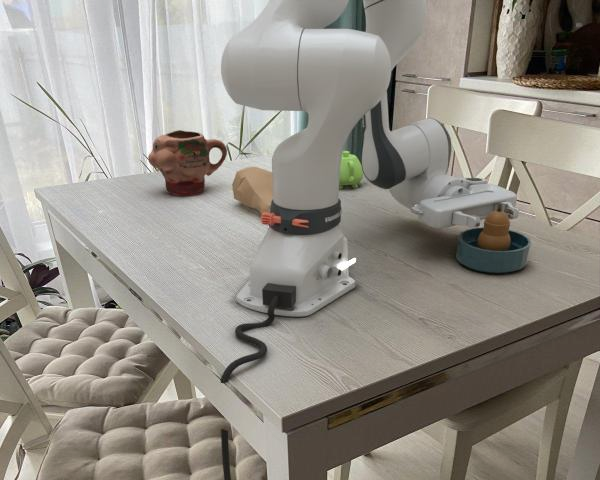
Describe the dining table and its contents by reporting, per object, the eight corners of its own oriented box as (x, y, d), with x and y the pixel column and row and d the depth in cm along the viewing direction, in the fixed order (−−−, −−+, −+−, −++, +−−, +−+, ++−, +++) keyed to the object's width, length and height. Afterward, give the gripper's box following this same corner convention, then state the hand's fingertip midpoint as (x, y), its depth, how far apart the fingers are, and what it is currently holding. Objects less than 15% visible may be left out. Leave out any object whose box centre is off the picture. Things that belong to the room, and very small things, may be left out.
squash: (265, 197, 154) (271, 161, 149) (296, 231, 140) (303, 192, 135) (224, 195, 149) (229, 157, 144) (252, 230, 136) (258, 190, 130)
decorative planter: (220, 180, 167) (216, 125, 159) (236, 191, 158) (232, 133, 150) (148, 189, 160) (140, 132, 152) (160, 202, 151) (152, 142, 143)
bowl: (519, 280, 109) (524, 256, 107) (448, 268, 114) (451, 245, 111) (531, 255, 119) (536, 233, 116) (465, 245, 124) (468, 223, 121)
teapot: (354, 193, 155) (355, 158, 150) (315, 187, 159) (315, 153, 155) (372, 182, 162) (374, 149, 158) (334, 177, 167) (335, 144, 162)
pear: (503, 266, 113) (514, 210, 107) (471, 261, 115) (480, 206, 109) (509, 255, 117) (520, 200, 111) (478, 250, 120) (487, 197, 114)
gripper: (406, 191, 116) (455, 210, 106) (488, 176, 124) (540, 193, 114) (404, 224, 120) (450, 245, 110) (483, 207, 128) (533, 226, 117)
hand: (496, 218), depth 112 cm, fingers open, 8 cm apart
